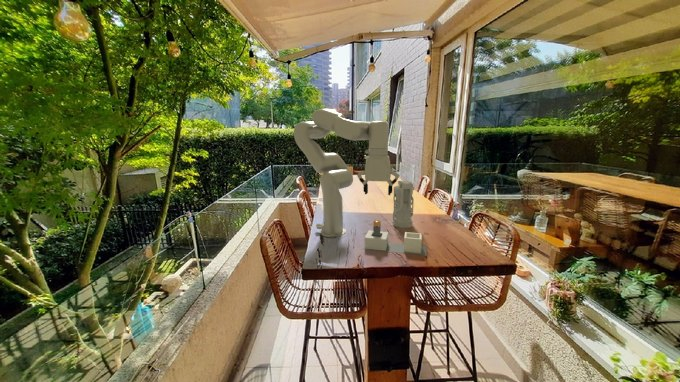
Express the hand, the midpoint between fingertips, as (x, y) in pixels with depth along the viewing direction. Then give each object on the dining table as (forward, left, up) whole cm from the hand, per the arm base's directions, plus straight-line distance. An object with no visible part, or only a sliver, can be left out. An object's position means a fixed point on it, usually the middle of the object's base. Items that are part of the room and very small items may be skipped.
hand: (377, 194), depth 111 cm
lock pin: (0, 0, -23) cm, 23 cm away
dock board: (+7, 0, -24) cm, 25 cm away
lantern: (+9, +31, -24) cm, 40 cm away
